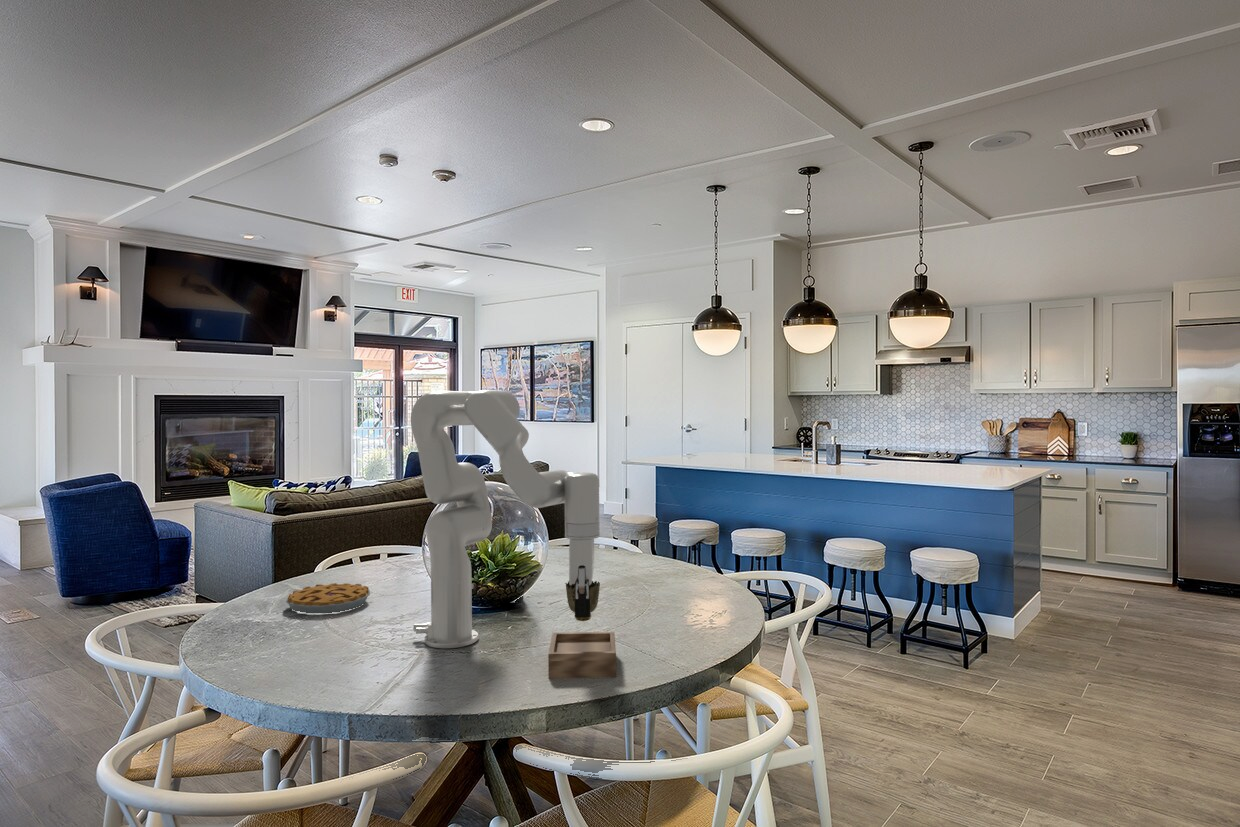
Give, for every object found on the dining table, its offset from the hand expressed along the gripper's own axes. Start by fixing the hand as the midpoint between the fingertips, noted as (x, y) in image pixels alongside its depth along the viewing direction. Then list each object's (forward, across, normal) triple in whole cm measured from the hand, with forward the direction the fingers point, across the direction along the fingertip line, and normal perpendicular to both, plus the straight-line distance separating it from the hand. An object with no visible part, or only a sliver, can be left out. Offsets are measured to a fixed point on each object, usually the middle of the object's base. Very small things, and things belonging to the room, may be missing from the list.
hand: (582, 611), depth 159 cm
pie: (+12, -50, -73) cm, 89 cm away
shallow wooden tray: (+12, 0, 0) cm, 12 cm away
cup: (+2, 0, 0) cm, 2 cm away
